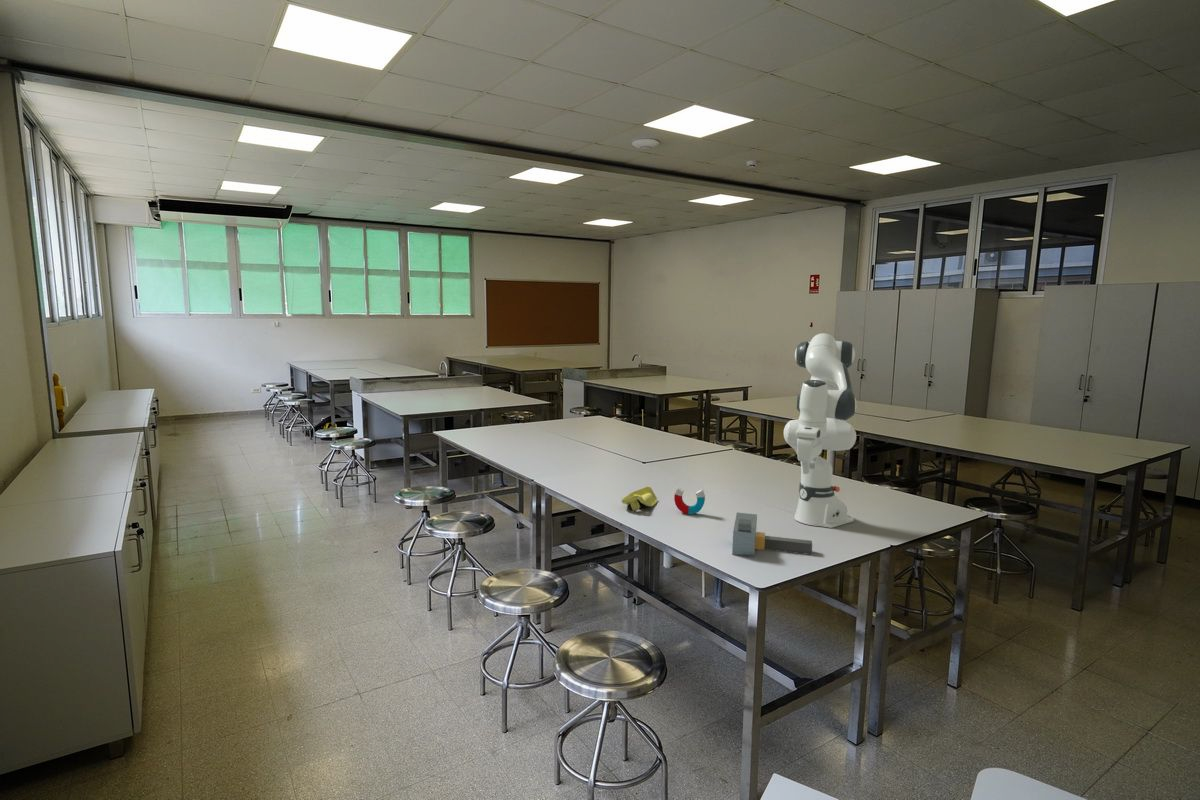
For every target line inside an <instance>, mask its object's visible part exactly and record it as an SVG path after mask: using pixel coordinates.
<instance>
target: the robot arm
mask: <svg viewBox="0 0 1200 800" xmlns="http://www.w3.org/2000/svg"><path fill="white" fill-rule="evenodd" d="M855 357H856V350H855V348H854V345H853V344H852V343H851V342H850V341H845V340H842V341H839V340H836V339H835V338H834V336H833V335H831V334H829V333H823V332H822V333H817V334H815V335H814V336H812V338H811V340H810V341H808V340H807V341H806V340H805V341H801V342H800V343H799V344H797V347H796V349H795V352H794V360H795V362H796V364H797V366H798V367H800V368H805V369H806V370H807V372H808V373H809V374H810V375H811V376H810V378H809V379H810V380H805V381H803V383H802V386H801V390H800V392H799V393H798V394H797V396H796V397H797V399H796V400H797V401H796V410H797V411H798V412H799V416H798V419H792V420H791V419H790V420H789V421H788V422H787V423H786V424H785V426H784V428H783V438H784V441H785V442H786V443H787V444H788V445H789V446H790V447H791V448H792V449H793V450H794V451H795V453H796V455H797V460H798V462H800V473H801V474H800V482H799V487H798V494H799V495H798V500H797V507H796V510H795V513H794V514H795V515H794V517H793V518H794V520H795V521H797V522H799V523H802V524H803V525H804V524H805V525H808V526H809V525H810V526H813V527H814V526H815V527H825V528H830V529H833V528H836V527H839V526H843V525H846V524H849V523H853V522H854V517H853V516H850V515H849V514H848V507H847V504H846V503H845V502H844V501H842V500H841V499H840V498H838V496H836V495H835V494H836V493H839V492H840V491H841V488H840V486H837V485H832V481H833V466H832V464H831V463H830V462H829V461H828V460H826V459H825V458H823V457H822V456H820V455H821V454H822V452H823V450H825V451H834V452H835V451H838V452H839V451H848V450H851V449H852V448H853V447H854V445H855V443H856V441H857V432H856V430H855V427H854V426H853V425H852V424H851V423H849V422H847V421H848V420H849V419H851V418H852V417H854V416H855V414H856V411H857V399H856V396H855V393H854V391H853V387H852V381H851V378H850V373H849V370H848V369H849V368H850V367H851V366H852V364H853V363H854V360H855ZM835 492H836V493H835Z"/></svg>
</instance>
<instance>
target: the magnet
mask: <svg viewBox="0 0 1200 800" xmlns="http://www.w3.org/2000/svg"><path fill="white" fill-rule="evenodd" d="M684 492H685V490H684V489H682V488H681V487H679V486H677V488H676V489H675V492H674V495H673V496H674V499H673V500H674V503H675V506H676V508H677V509H678V511H680V512H681V513H683V514H685V513H686V514H685V515H695V514H697V513H699V512H700V511H701V510H702V508H703V507H704V505H705V500H706V497H705V491H704V489H702V488H701V489H700V490H698V491H696V492H695V495H696V503H695V504H693V505H689V504H688V505H687V504H686V503H685V502H684V500H683V494H684Z"/></svg>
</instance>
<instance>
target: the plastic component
mask: <svg viewBox="0 0 1200 800" xmlns="http://www.w3.org/2000/svg"><path fill="white" fill-rule="evenodd" d="M658 500H659V499H658V498H657V496H656V493H655V492H654V490H653V488H652V487H651V486H645V487H642V488H640V489H637V490H634V491H632V492H630V493H628V494H626V496H624V497H623V498H622V499H621V500H620V501H621V503H622V504H624V505H627V506H628V505H630V507H631V509H632V511H637V510H638V509H640V508H641V505H640V503H641V504H642V505H645V507H648V508H649V507H652V508H653V507H654V506H655V505H656V504H657V503H658Z"/></svg>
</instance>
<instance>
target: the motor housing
mask: <svg viewBox="0 0 1200 800" xmlns="http://www.w3.org/2000/svg"><path fill="white" fill-rule="evenodd" d="M757 520H758V514H757V513H756V514H754V513H748V512H747V513H746V512H736V516H735V519H734V525H733V529H732V530H733V532H732V548H731V549H732V552H731V553H732V554H733V556H740V557H741V556H742V557H750V558H755V554H756V553H755V552H756V549H755V538H756V532H757V525H758V524H757V522H758V521H757Z"/></svg>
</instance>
